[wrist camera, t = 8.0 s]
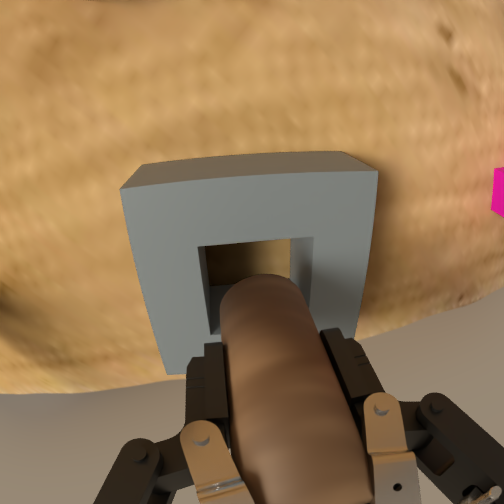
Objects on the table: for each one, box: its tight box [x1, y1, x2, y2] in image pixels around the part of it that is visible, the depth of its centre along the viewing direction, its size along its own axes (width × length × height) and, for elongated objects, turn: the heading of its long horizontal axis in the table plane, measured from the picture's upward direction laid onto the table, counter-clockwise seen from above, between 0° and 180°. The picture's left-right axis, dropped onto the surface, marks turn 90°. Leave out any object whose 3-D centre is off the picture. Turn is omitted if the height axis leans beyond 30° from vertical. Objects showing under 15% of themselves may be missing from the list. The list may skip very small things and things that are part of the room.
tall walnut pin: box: [220, 274, 373, 504], centre depth 11 cm, size 4×4×10 cm
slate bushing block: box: [120, 151, 378, 375], centre depth 19 cm, size 12×12×5 cm
